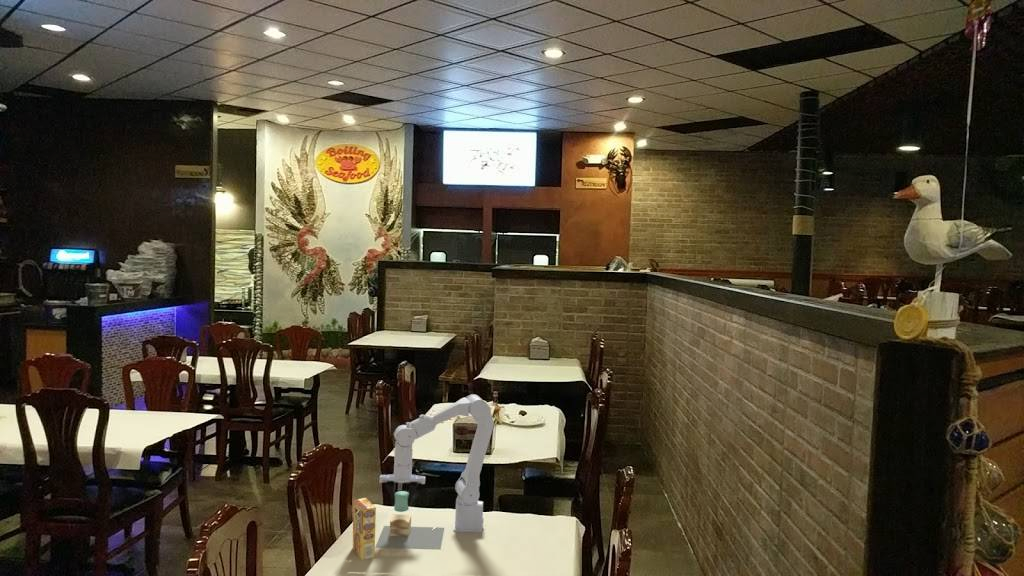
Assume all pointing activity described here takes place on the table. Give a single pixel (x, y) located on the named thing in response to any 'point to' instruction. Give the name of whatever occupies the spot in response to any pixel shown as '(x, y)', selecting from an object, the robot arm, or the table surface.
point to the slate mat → (412, 538)
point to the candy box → (364, 528)
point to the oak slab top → (400, 521)
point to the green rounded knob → (401, 501)
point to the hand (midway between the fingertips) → (401, 504)
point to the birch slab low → (400, 532)
